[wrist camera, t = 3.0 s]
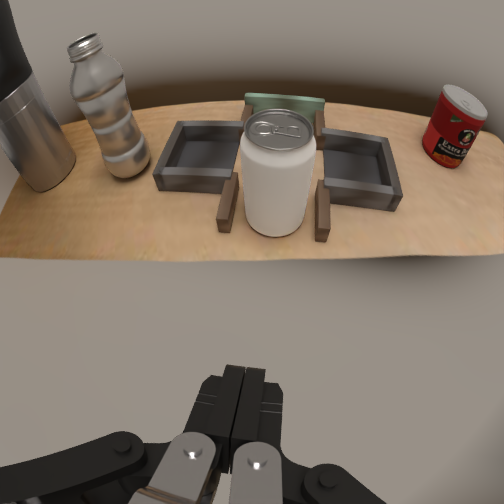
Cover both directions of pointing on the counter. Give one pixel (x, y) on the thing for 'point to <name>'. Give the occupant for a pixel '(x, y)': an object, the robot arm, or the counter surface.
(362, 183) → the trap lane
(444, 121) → the canned food
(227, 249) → the counter surface
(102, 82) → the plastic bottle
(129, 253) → the counter surface
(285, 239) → the counter surface
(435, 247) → the counter surface
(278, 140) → the can
